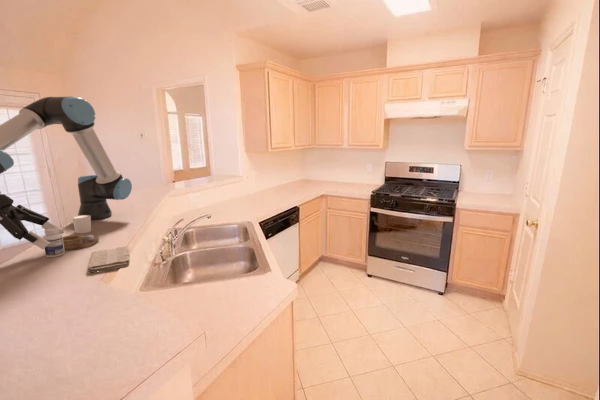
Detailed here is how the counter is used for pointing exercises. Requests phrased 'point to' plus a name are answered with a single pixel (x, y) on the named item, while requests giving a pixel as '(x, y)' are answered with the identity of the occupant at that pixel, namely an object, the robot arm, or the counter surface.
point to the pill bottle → (54, 243)
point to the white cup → (82, 223)
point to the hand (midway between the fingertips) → (54, 240)
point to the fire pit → (79, 241)
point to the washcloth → (109, 259)
